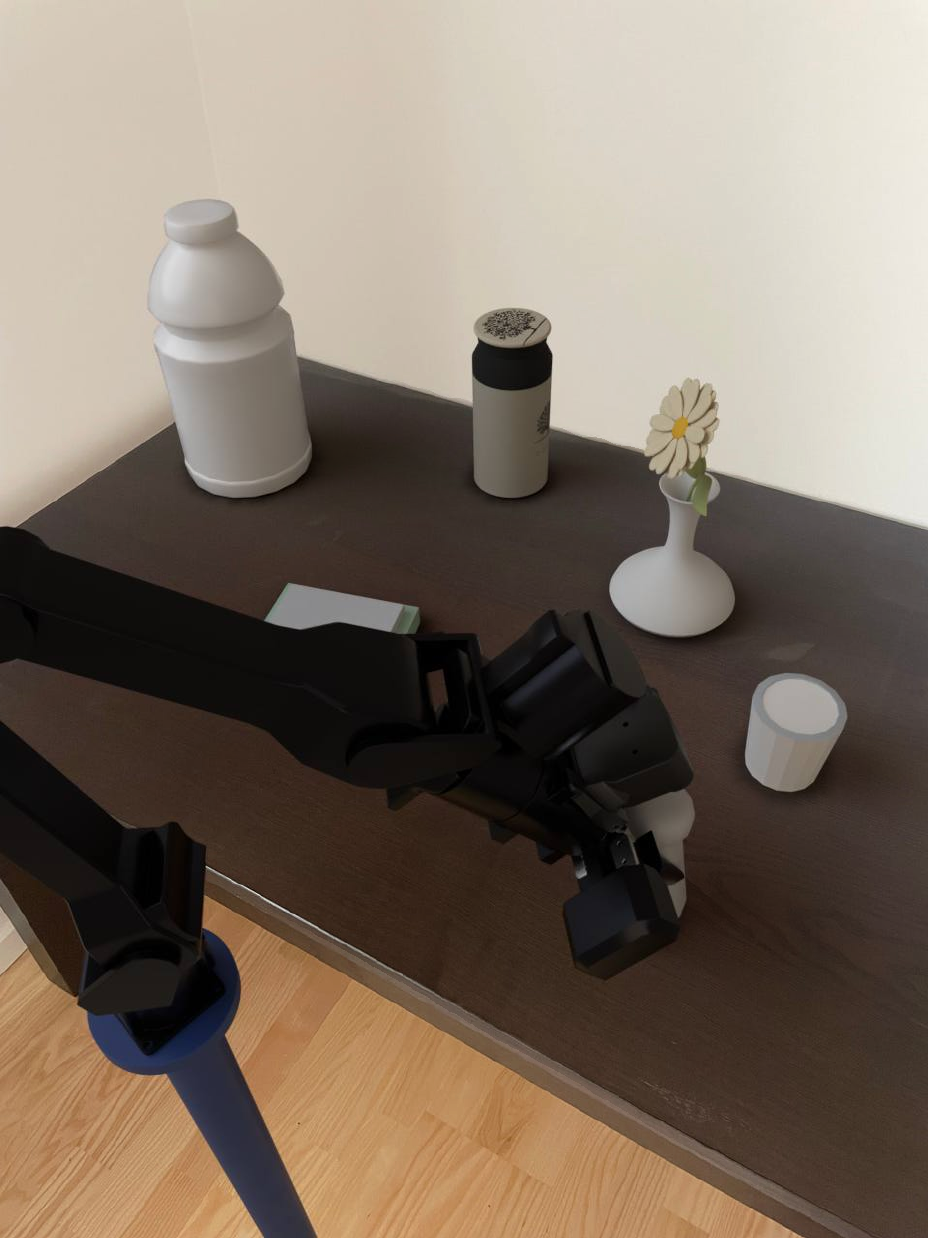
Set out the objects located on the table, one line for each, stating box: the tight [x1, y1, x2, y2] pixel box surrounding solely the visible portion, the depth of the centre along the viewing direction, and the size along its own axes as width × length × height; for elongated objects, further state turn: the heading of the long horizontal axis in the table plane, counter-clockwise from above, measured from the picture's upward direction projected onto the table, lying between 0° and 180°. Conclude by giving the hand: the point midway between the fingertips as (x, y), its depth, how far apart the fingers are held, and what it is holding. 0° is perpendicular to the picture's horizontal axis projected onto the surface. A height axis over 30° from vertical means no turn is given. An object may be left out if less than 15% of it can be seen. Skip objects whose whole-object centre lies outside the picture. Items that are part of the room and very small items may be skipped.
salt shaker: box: [624, 788, 696, 919], centre depth 64 cm, size 6×6×13 cm
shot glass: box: [744, 672, 849, 793], centre depth 75 cm, size 7×7×7 cm
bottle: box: [146, 198, 313, 499], centre depth 99 cm, size 14×14×28 cm
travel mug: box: [471, 307, 554, 499], centre depth 100 cm, size 8×8×18 cm
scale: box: [263, 582, 421, 634], centre depth 86 cm, size 13×13×3 cm
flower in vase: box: [609, 377, 736, 638], centre depth 82 cm, size 13×11×25 cm
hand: (670, 855), depth 64 cm, fingers closed on salt shaker, 3 cm apart
